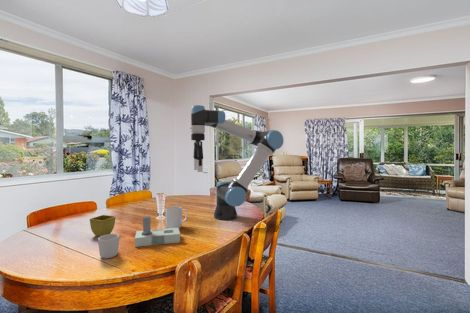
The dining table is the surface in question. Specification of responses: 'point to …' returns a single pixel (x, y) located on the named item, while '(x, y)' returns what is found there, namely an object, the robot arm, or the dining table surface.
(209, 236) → the dining table surface
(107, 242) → the cup
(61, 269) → the dining table surface
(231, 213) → the robot arm
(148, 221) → the peg
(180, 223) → the mug
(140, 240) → the hole block
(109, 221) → the flower pot
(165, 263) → the dining table surface
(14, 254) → the dining table surface
